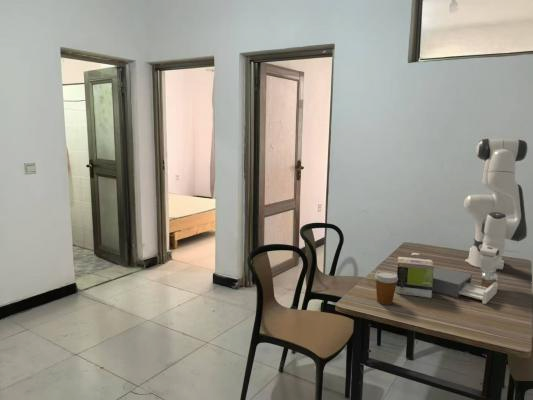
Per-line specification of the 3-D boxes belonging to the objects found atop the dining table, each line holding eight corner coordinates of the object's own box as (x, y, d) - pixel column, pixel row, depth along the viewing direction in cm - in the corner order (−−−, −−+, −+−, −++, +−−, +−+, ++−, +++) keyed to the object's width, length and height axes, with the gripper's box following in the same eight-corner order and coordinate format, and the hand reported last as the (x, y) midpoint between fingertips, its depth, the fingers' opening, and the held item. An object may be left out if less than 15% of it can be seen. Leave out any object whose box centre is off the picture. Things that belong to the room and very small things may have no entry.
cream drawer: (461, 284, 191) (462, 274, 190) (496, 292, 181) (497, 282, 180) (448, 293, 179) (449, 283, 178) (485, 304, 169) (486, 292, 168)
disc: (484, 274, 191) (484, 270, 190) (499, 278, 186) (499, 274, 186) (479, 278, 186) (480, 274, 186) (495, 281, 182) (495, 277, 181)
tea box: (430, 290, 183) (433, 259, 181) (431, 298, 174) (434, 266, 172) (395, 285, 188) (398, 255, 186) (395, 293, 179) (397, 261, 176)
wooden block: (484, 285, 191) (485, 275, 190) (495, 288, 187) (497, 278, 186) (480, 288, 187) (482, 278, 186) (492, 291, 184) (494, 280, 183)
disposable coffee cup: (393, 308, 164) (395, 280, 162) (370, 302, 169) (371, 275, 167) (398, 300, 172) (401, 273, 170) (376, 295, 177) (378, 269, 175)
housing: (438, 278, 199) (439, 266, 198) (470, 286, 189) (472, 274, 188) (423, 288, 186) (424, 275, 185) (457, 297, 176) (458, 284, 175)
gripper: (492, 242, 193) (488, 270, 196) (479, 250, 179) (475, 280, 181) (506, 245, 189) (503, 273, 191) (494, 253, 174) (491, 284, 177)
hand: (489, 277), depth 186 cm, fingers open, 8 cm apart
